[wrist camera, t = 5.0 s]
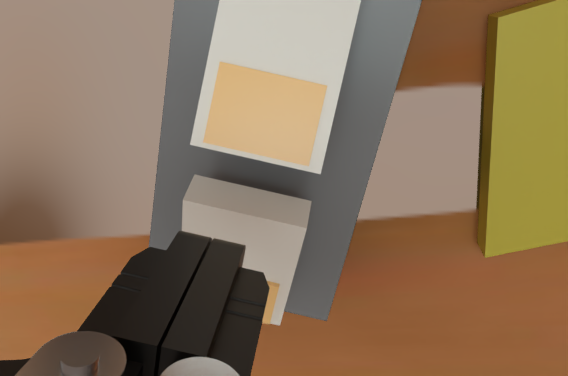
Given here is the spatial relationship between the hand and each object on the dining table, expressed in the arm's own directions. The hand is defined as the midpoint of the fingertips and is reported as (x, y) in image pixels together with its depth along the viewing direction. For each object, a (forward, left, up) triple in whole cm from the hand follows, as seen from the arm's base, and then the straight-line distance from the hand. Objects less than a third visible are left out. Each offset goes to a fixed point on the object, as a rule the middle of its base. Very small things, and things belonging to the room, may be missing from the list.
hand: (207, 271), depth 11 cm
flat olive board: (-6, +20, -17) cm, 27 cm away
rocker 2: (+6, 0, -10) cm, 11 cm away
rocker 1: (-3, 0, -10) cm, 10 cm away
